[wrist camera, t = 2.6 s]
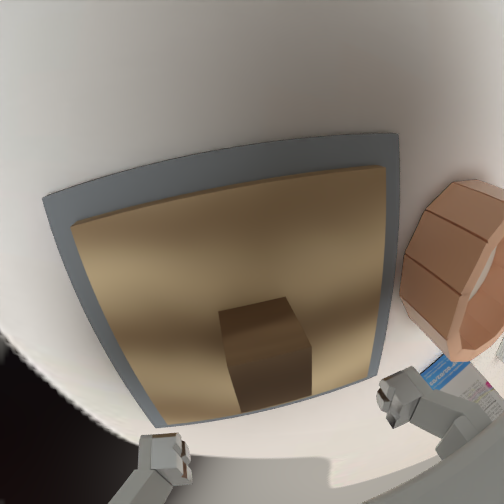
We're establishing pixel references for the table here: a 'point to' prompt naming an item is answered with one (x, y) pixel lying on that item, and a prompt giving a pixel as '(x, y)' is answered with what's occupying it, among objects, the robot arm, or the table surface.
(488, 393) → the ink box
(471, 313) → the terracotta bowl
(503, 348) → the ink cartridge box
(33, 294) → the table surface
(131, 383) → the rubber mat
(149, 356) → the oak cover
